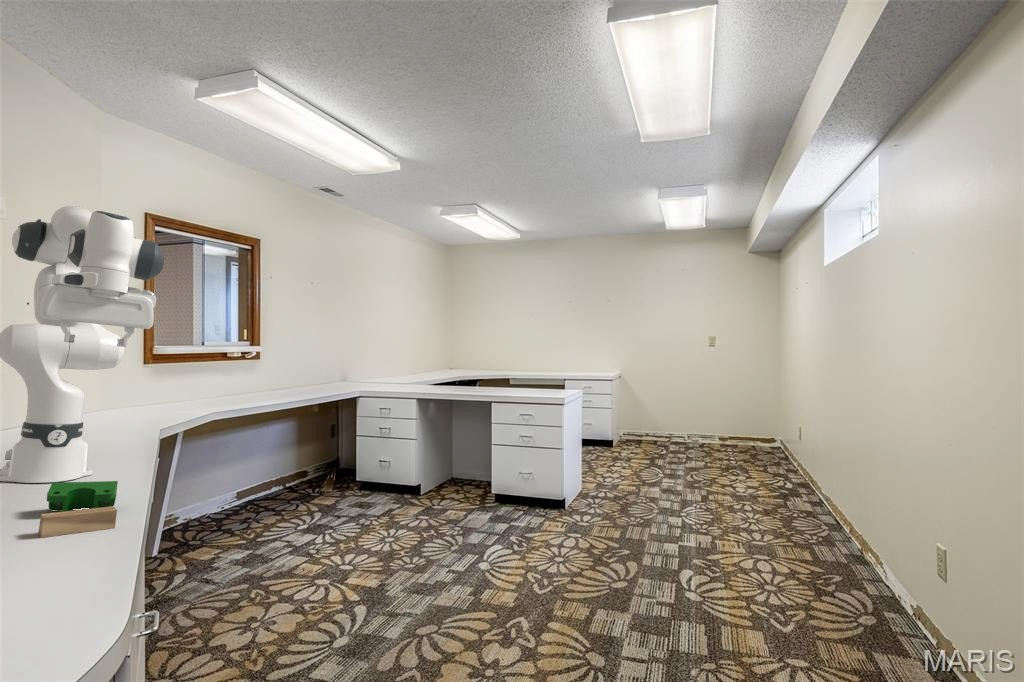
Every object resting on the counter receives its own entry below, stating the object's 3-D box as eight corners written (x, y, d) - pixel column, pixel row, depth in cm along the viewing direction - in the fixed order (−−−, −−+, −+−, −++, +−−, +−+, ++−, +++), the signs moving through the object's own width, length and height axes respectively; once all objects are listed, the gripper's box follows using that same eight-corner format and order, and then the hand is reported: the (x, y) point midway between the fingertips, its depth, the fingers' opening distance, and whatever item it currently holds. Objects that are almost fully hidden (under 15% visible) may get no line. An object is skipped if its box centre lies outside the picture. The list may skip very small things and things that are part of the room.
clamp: (54, 536, 110) (34, 500, 106) (60, 521, 115) (42, 486, 111) (122, 512, 115) (106, 476, 112) (126, 498, 120) (109, 464, 117)
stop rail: (38, 533, 99) (40, 513, 99) (110, 523, 107) (112, 506, 107) (41, 537, 97) (44, 518, 97) (114, 527, 105) (117, 509, 105)
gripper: (153, 291, 130) (145, 348, 129) (42, 275, 114) (33, 339, 113) (161, 290, 126) (154, 349, 125) (48, 273, 110) (39, 340, 109)
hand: (95, 344), depth 119 cm, fingers open, 8 cm apart
